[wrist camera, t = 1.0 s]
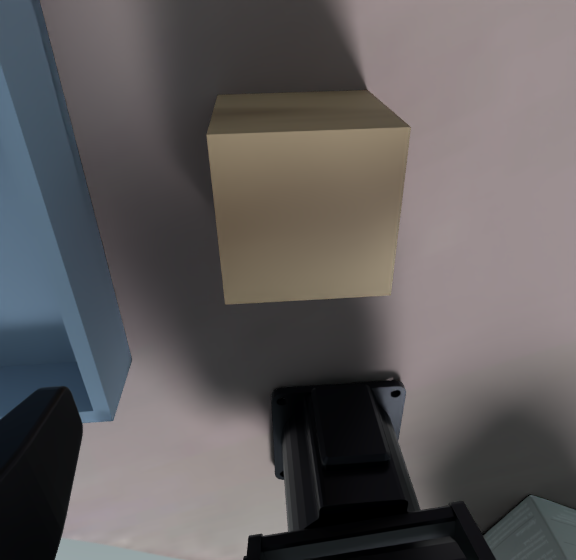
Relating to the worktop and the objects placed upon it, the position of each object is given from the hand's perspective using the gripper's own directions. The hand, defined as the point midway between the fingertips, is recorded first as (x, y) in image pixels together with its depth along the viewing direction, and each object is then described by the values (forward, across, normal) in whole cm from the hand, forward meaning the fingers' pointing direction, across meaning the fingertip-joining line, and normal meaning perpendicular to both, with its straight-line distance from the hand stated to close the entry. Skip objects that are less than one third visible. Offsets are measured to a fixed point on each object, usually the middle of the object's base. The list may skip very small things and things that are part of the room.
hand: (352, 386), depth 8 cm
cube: (+11, 0, 0) cm, 11 cm away
